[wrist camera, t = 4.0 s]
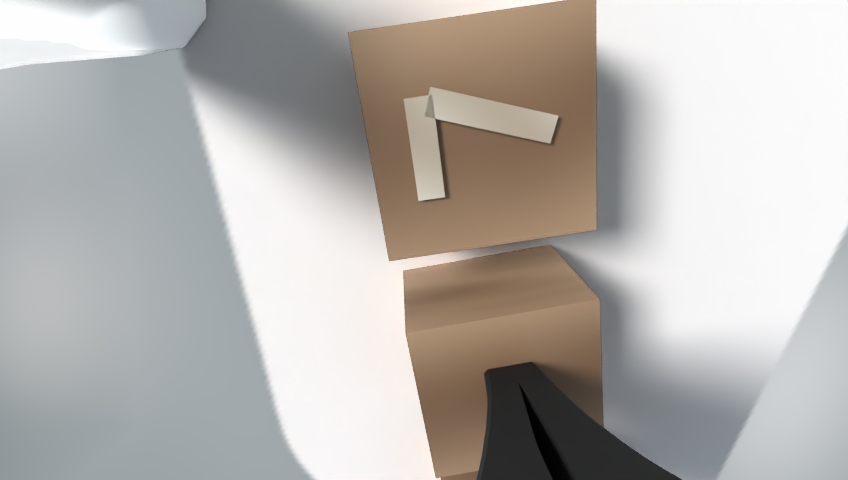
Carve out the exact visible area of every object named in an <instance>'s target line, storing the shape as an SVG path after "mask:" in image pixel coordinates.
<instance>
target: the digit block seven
mask: <svg viewBox="0 0 848 480" xmlns="http://www.w3.org/2000/svg"><path fill="white" fill-rule="evenodd" d="M348 35H349V41H350V46H351V52H352V58H353V63H354V69H355V74H356V80H357V85H358V91H359V96H360V102H361V108H362V113H363V119H364V124H365V130H366V135H367V141H368V146H369V152H370V158H371V163H372V169H373V174H374V180H375V185H376V191H377V196H378V202H379V208H380V213H381V219H382V224H383V230H384V235H385V241H386V247H387V252H388V258H389V261H394V260H400V259H407V258H414V257H420V256H427V255H434V254H440V253H447V252H454V251H460V250H467V249H474V248H480V247H487V246H494V245H500V244H507V243H514V242H520V241H527V240H533V239H540V238H547V237H553V236H560V235H567V234H573V233H580V232H587V231H593V230H597V187H596V0H565V1H558V2H551V3H544V4H538V5H531V6H524V7H517V8H510V9H504V10H497V11H490V12H483V13H476V14H469V15H463V16H456V17H449V18H442V19H435V20H428V21H422V22H415V23H408V24H401V25H394V26H387V27H381V28H374V29H367V30H360V31H353V32H348Z"/></svg>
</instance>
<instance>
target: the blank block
mask: <svg viewBox="0 0 848 480" xmlns="http://www.w3.org/2000/svg"><path fill="white" fill-rule="evenodd" d="M403 279H404V304H405V330H406V337H407V342H408V347H409V352H410V357H411V361H412V366H413V371H414V376H415V380H416V385H417V390H418V395H419V399H420V404H421V409H422V414H423V419H424V423H425V428H426V433H427V438H428V442H429V447H430V452H431V457H432V462H433V466H434V471H435V476H436V478H439V477H445V476H451V475H456V474H462V473H468V472H473V471H479V466H480V461H481V456H482V451H483V444H484V437H485V431H486V419H487V393H486V386H485V379H484V373H485V372H486V370H487V369H492V368H498V367H504V366H509V365H515V364H521V363H526V362H533V363H534V364H535V365H536V366H537V367H538V368H539V369H540V370H541V371H542V372H543V373H544V374H545V375H546V376H547V377H548V378H549V379H550V380H551V381H552V382H553V383H554V384H555V385H556V386H557V387H558V388H559V389H560V390H561V391H562V392H563V393H564V394H565V395H566V396H567V397H568V398H569V399H570V400H572V401H573V402H574V403H575V404H576V405H577V406H578V407H579V408H581V409H582V410H583V411H584V412H585V413H586V414H587V415H589V416H590V417H591V418H592V419H593V420H595V421H596V422H597V423H598V424H600V425H601V426H602V427H603V393H602V359H601V326H600V299H599V298H598V297H597V296H596V294H595V293H594V292H593V291H592V290H591V289H590V288H589V287H588V286H587V284H586V283H585V282H584V281H583V280H582V279H581V278H580V277H579V276H578V275H577V273H576V272H575V271H574V270H573V269H572V268H571V267H570V266H569V265H568V263H567V262H566V261H565V260H564V259H563V258H562V257H561V256H560V255H559V253H558V252H557V251H556V250H555V249H554V248H553V247H552V246H551V245H546V246H540V247H535V248H529V249H523V250H518V251H512V252H506V253H501V254H495V255H490V256H484V257H478V258H473V259H467V260H461V261H456V262H450V263H444V264H439V265H433V266H428V267H422V268H416V269H411V270H405V271H403ZM603 428H604V427H603Z"/></svg>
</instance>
